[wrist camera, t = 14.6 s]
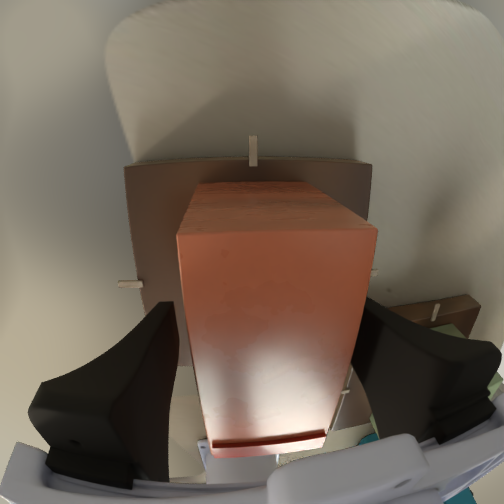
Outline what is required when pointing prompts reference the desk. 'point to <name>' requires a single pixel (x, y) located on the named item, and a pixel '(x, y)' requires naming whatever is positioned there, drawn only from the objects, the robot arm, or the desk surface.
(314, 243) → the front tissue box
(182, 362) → the front stand
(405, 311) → the back stand
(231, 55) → the desk surface
